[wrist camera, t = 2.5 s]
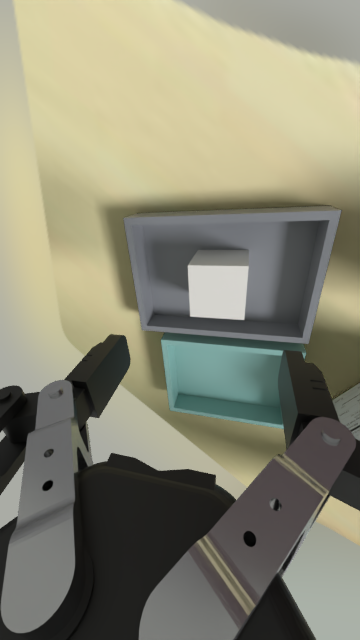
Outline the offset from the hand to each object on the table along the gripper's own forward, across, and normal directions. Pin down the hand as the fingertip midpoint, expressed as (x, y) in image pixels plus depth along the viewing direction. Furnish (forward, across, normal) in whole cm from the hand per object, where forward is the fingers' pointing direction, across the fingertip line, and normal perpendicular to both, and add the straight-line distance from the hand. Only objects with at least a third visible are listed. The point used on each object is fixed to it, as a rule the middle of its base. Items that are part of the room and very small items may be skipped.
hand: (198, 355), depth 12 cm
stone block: (+12, 0, 0) cm, 13 cm away
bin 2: (+13, -1, +12) cm, 18 cm away
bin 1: (+13, 0, 0) cm, 13 cm away
